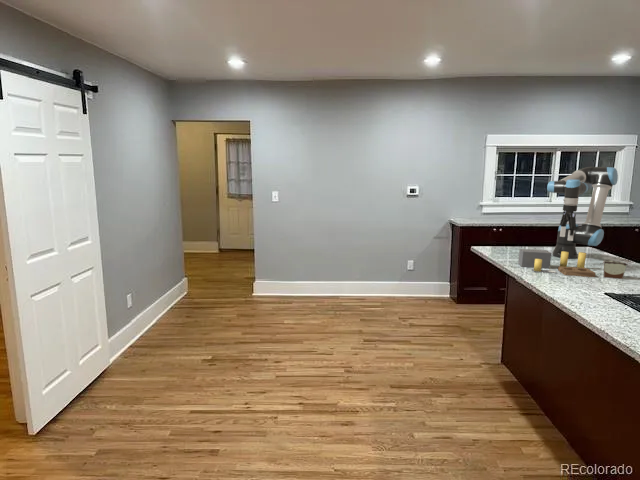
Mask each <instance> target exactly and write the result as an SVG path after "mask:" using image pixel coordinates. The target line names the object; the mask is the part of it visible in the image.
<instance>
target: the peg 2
mask: <svg viewBox="0 0 640 480" xmlns="http://www.w3.org/2000/svg"><path fill="white" fill-rule="evenodd" d="M586 257H587V253H586V252H582V251H579V252H578V254H577V262H576V263H577V265H576V267H577V268H585V265H586Z"/></svg>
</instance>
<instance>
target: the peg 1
mask: <svg viewBox="0 0 640 480" xmlns="http://www.w3.org/2000/svg"><path fill="white" fill-rule="evenodd" d="M568 254H569V252H565V251H562V252H561V258H560V260H559V266H561V267H568V262H569V261H568V260H569V258H568Z"/></svg>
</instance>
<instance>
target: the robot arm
mask: <svg viewBox="0 0 640 480" xmlns="http://www.w3.org/2000/svg"><path fill="white" fill-rule="evenodd" d="M618 179H619V175H618V170H617V168H616V167H611V166H587V167H583V168H580V169H577V170H574V171H573V172H572V173H571V174H569V175H568V176H566V177H563V178H562V179H558V180H552V181H551V180H550V181H549V182H548V183H547V187H546V188H547V189H546V190H547V192H548V193H552V194H564V197H563V199H562V200H563V206H562V217H561V219H560V223H559V226H558V230H557V236H556V237H557V239H556V245H555V247H554V249H553V250H552V256H553V257H555V258H560V259H561V252H562V251H565V252H569V254H568V260H569V259H573V260H575V259H578V252H577V249H576V245H577V244H579V245H586V246H590V247H591V246H592V247H593V246H594V247H597V246H598V245H600V244H601V242H602V241H603V239H604V237H605V236H604V234H605V232H604V229H602V228H603V227H602V225H601V221H602V218H603V214H604V211H605V206H606V202H607V197H608V196H609V195H608V193H609V190H611V189H612V188H613V186H616V185H617V183H618ZM589 184H591V186H592V188H593V190H592V194H591V198H590V202H589V206H588V208H587V209H588V211H587V215H586V218H585V220H584V221H585V222H583V223H582V224H581V226H579V224H578V223H576V219H577V218H576V215H577V214H576V213H574V212H577V211H578V204H579V196H580V195H581V196H582V195H583V194H586V193H587V192H588V190H589V186H588V185H589Z"/></svg>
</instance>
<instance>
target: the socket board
mask: <svg viewBox="0 0 640 480" xmlns="http://www.w3.org/2000/svg"><path fill="white" fill-rule="evenodd" d="M557 271H558V272H560V273H561V274H563V275H564V276H566V277H567V276H572V277H584V278H585V277H586V278H587V277H588V278H595V277H596V272H595V271H593V270H591V269H589V268H588V267H584V268H577V266H575V267H574V266H567V267H561V266H560V265H559V266H558V267H557Z"/></svg>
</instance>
